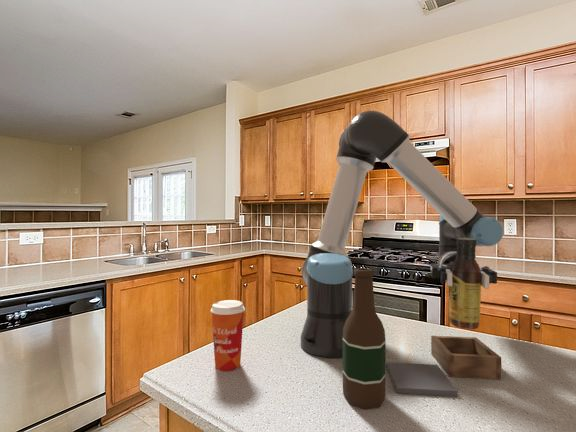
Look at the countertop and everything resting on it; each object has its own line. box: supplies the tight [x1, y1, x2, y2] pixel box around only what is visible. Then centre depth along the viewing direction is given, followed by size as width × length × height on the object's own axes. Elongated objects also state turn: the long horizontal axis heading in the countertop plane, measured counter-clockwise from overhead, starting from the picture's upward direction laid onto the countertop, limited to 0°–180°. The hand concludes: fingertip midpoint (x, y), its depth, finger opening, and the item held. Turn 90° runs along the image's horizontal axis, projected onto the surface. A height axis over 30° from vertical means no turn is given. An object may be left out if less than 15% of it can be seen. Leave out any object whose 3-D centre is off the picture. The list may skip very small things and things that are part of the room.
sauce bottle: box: [448, 238, 482, 330], centre depth 74 cm, size 7×6×20 cm
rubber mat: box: [386, 361, 458, 397], centre depth 67 cm, size 11×11×1 cm
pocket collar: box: [430, 335, 502, 380], centre depth 74 cm, size 10×11×4 cm
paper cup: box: [210, 299, 246, 372], centre depth 74 cm, size 8×8×14 cm
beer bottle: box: [342, 267, 387, 410], centre depth 61 cm, size 8×8×24 cm
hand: (468, 281), depth 69 cm, fingers closed on sauce bottle, 6 cm apart
